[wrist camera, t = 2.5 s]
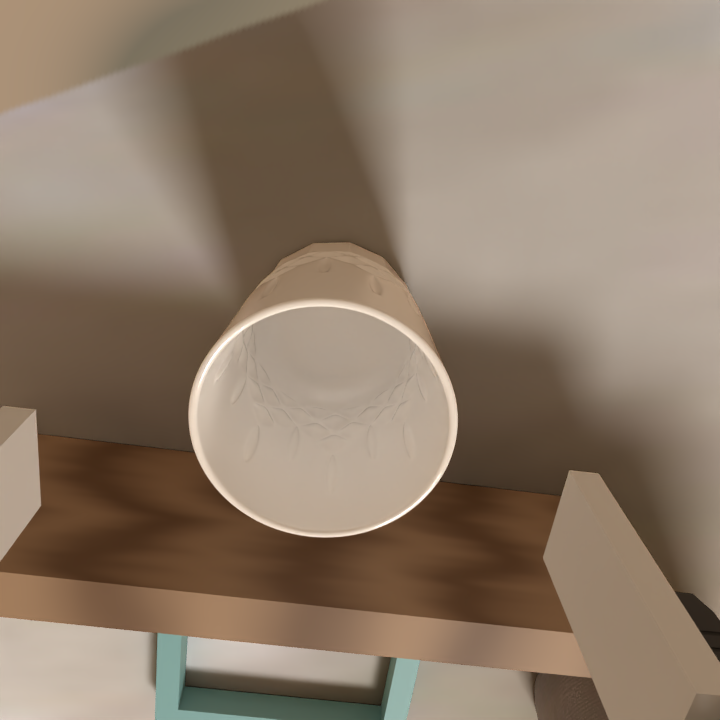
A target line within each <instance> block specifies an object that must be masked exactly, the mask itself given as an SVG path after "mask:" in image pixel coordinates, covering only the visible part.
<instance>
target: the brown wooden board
mask: <svg viewBox="0 0 720 720" xmlns="http://www.w3.org/2000/svg"><path fill="white" fill-rule="evenodd" d="M37 438H38V457H39V476H40V495H41V506H40V508H39V509H38V511H37V512H36V513H35V515H34V516H33V517H32V519H31V520H30V522H29V523H28V524H27V526H26V527H25V528H24V530H23V531H22V532H21V534H20V535H19V537H18V538H17V539H16V541H15V542H14V543H13V545H12V546H11V548H10V549H9V550H8V552H7V553H6V554H5V556H4V557H3V559H2V560H1V561H0V617H8V618H17V619H27V620H37V621H46V622H56V623H66V624H75V625H85V626H95V627H104V628H114V629H124V630H133V631H143V632H152V633H162V634H172V635H181V636H191V637H201V638H210V639H220V640H230V641H239V642H249V643H259V644H268V645H278V646H288V647H297V648H307V649H317V650H326V651H336V652H346V653H355V654H365V655H374V656H384V657H394V658H403V659H413V660H423V661H432V662H442V663H452V664H461V665H471V666H481V667H490V668H500V669H510V670H519V671H529V672H539V673H548V674H558V675H567V676H577V677H587V678H592V677H591V675H590V672H589V670H588V667H587V665H586V662H585V660H584V658H583V655H582V653H581V650H580V648H579V645H578V643H577V640H576V638H575V636H574V633H573V631H572V628H571V626H570V623H569V621H568V618H567V616H566V613H565V611H564V609H563V606H562V604H561V601H560V599H559V596H558V594H557V591H556V589H555V587H554V584H553V582H552V579H551V577H550V574H549V572H548V569H547V567H546V565H545V562H544V560H543V556H544V552H545V549H546V546H547V542H548V539H549V536H550V532H551V529H552V526H553V522H554V519H555V516H556V512H557V509H558V506H559V502H560V499H561V496H557V495H548V494H540V493H531V492H523V491H514V490H506V489H498V488H489V487H481V486H472V485H464V484H455V483H447V482H438V483H437V484H436V486H435V487H434V488H433V490H432V491H431V492H430V493H429V494H428V495H427V496H426V497H425V498H424V499H423V500H422V501H421V502H420V503H419V504H418V505H417V506H415V507H414V508H413V509H412V510H410V511H409V512H408V513H406V514H405V515H403V516H401V517H400V518H398V519H396V520H395V521H393V522H391V523H389V524H386V525H384V526H382V527H379V528H377V529H374V530H371V531H368V532H364V533H360V534H356V535H350V536H343V537H309V536H301V535H296V534H291V533H287V532H284V531H280V530H277V529H274V528H272V527H269V526H267V525H264V524H262V523H260V522H258V521H256V520H254V519H253V518H251V517H249V516H247V515H246V514H244V513H243V512H241V511H240V510H239V509H237V508H236V507H235V506H233V505H232V504H231V503H230V502H229V501H228V500H227V499H225V498H224V497H223V496H222V495H221V494H220V492H219V491H218V490H217V489H216V488H215V487H214V485H213V484H212V483H211V482H210V480H209V479H208V477H207V476H206V474H205V473H204V471H203V469H202V467H201V465H200V463H199V461H198V459H197V457H196V454H195V453H194V452H186V451H177V450H169V449H160V448H152V447H143V446H135V445H126V444H118V443H110V442H101V441H93V440H84V439H76V438H67V437H59V436H51V435H42V434H37Z"/></svg>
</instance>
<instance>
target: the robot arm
mask: <svg viewBox="0 0 720 720" xmlns="http://www.w3.org/2000/svg"><path fill="white" fill-rule="evenodd" d="M40 506H41V495H40V476H39V457H38V438H37V419H36V409H28V408H19V407H10V406H2V407H1V408H0V561H1V560H2V559H3V557H4V556H5V554H6V553H7V552H8V550H9V549H10V548H11V546H12V545H13V543H14V542H15V541H16V539H17V538H18V537H19V535H20V534H21V532H22V531H23V530H24V528H25V527H26V526H27V524H28V523H29V522H30V520H31V519H32V517H33V516H34V515H35V513H36V512H37V511H38V509H39V508H40ZM543 560H544V562H545V565H546V567H547V569H548V572H549V574H550V577H551V579H552V582H553V584H554V587H555V589H556V591H557V594H558V596H559V599H560V601H561V604H562V606H563V609H564V611H565V613H566V616H567V618H568V621H569V623H570V626H571V628H572V631H573V633H574V636H575V638H576V640H577V643H578V645H579V648H580V650H581V653H582V655H583V658H584V660H585V662H586V665H587V667H588V670H589V672H590V675H591V677H592V680H593V682H594V684H595V687H596V689H597V692H598V694H599V697H600V699H601V702H602V704H603V706H604V709H605V711H606V714H607V716H608V719H609V720H720V620H719V619H718V618H717V616H716V615H715V613H714V612H713V611H712V610H711V609H709V608H708V607H707V606H706V605H705V604H704V603H702V602H701V601H700V600H699V599H698V598H697V597H696V596H694V595H693V594H690V593H680V592H674V590H673V589H672V587H671V586H670V584H669V582H668V581H667V579H666V578H665V576H664V575H663V573H662V572H661V570H660V568H659V567H658V565H657V564H656V562H655V561H654V559H653V557H652V556H651V554H650V553H649V551H648V550H647V548H646V547H645V545H644V543H643V542H642V540H641V539H640V537H639V536H638V534H637V532H636V531H635V529H634V528H633V526H632V525H631V523H630V522H629V520H628V518H627V517H626V515H625V514H624V512H623V511H622V509H621V507H620V506H619V504H618V503H617V501H616V500H615V498H614V497H613V495H612V493H611V492H610V490H609V489H608V487H607V486H606V484H605V482H604V481H603V479H602V478H601V476H600V475H599V473H591V472H582V471H573V470H569V473H568V476H567V479H566V483H565V486H564V489H563V493H562V496H561V499H560V502H559V506H558V509H557V512H556V516H555V519H554V522H553V526H552V529H551V532H550V536H549V539H548V542H547V546H546V549H545V552H544V556H543Z"/></svg>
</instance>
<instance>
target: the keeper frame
mask: <svg viewBox="0 0 720 720" xmlns="http://www.w3.org/2000/svg"><path fill="white" fill-rule="evenodd" d="M186 654H187V636H181V635H172V634H162V633H158V636H157V670H156V704H155V720H406V719H407V715H408V711H409V706H410V702H411V698H412V693H413V689H414V685H415V680H416V676H417V672H418V667H419V663H420V660H413V659H403V658H394V657H391V660H390V665H389V670H388V674H387V679H386V684H385V689H384V694H383V698H382V703H381V706H377V705H367V704H357V703H347V702H337V701H327V700H317V699H307V698H297V697H287V696H277V695H267V694H257V693H247V692H237V691H227V690H217V689H207V688H197V687H187V686H185V673H186Z"/></svg>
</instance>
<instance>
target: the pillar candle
mask: <svg viewBox="0 0 720 720" xmlns="http://www.w3.org/2000/svg"><path fill="white" fill-rule="evenodd" d="M534 690H535V693H534V694H535V707H536V712H537V716H538V720H609V719H608V716H607V714H606V711H605V709H604V706H603V704H602V702H601V699H600V697H599V694H598V692H597V689H596V687H595V684H594V682H593V680H592V678H587V677H577V676H567V675H558V674H548V673H539V672H538V674H537V677H536V681H535V689H534Z"/></svg>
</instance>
